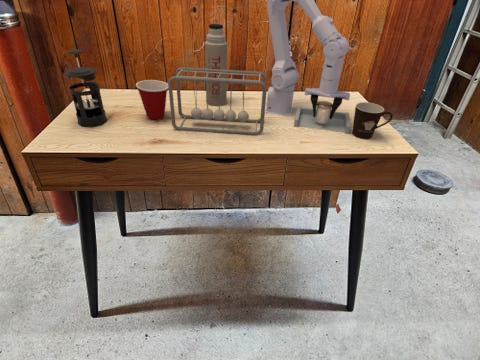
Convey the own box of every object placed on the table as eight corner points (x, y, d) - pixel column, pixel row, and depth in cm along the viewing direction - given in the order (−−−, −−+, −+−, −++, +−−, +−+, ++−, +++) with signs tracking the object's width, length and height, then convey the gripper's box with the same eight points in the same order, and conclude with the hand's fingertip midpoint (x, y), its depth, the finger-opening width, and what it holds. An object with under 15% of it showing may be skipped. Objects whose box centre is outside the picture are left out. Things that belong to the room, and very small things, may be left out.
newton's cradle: (263, 122, 113) (267, 71, 102) (262, 136, 104) (267, 82, 94) (179, 117, 114) (175, 66, 103) (172, 130, 105) (166, 76, 95)
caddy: (293, 127, 110) (294, 119, 108) (296, 113, 120) (297, 105, 118) (348, 134, 107) (350, 126, 105) (347, 119, 117) (348, 111, 115)
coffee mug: (345, 137, 105) (353, 109, 99) (351, 127, 111) (358, 100, 106) (382, 146, 101) (392, 117, 95) (386, 135, 107) (395, 107, 101)
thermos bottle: (222, 107, 122) (222, 27, 106) (203, 104, 124) (200, 25, 107) (229, 100, 128) (230, 23, 112) (210, 97, 130) (209, 21, 114)
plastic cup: (174, 122, 110) (170, 88, 103) (141, 125, 107) (136, 90, 100) (170, 110, 118) (167, 77, 111) (140, 112, 116) (135, 79, 109)
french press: (99, 129, 104) (81, 56, 90) (71, 127, 104) (49, 54, 91) (114, 114, 113) (99, 46, 100) (88, 112, 114) (70, 44, 100)
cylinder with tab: (313, 124, 109) (316, 107, 105) (314, 116, 114) (317, 100, 111) (329, 126, 108) (332, 109, 105) (329, 118, 113) (332, 102, 110)
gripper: (307, 79, 101) (300, 118, 109) (354, 84, 99) (343, 124, 107) (308, 72, 107) (302, 110, 115) (352, 77, 104) (343, 116, 112)
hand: (322, 116), depth 111 cm, fingers closed on cylinder with tab, 5 cm apart
